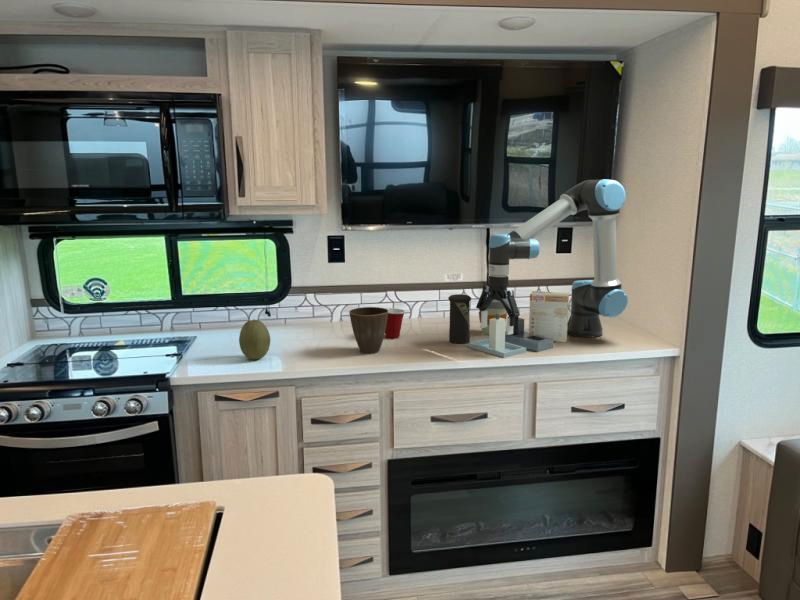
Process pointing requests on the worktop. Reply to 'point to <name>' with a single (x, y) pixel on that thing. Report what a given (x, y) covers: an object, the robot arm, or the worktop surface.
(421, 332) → the worktop surface
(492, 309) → the reusable coffee cup
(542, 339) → the grey socket base
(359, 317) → the plant pot
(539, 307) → the coffeecake box
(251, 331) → the fruit
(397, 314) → the plastic cup
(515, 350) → the tray
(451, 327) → the container
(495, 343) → the plug
